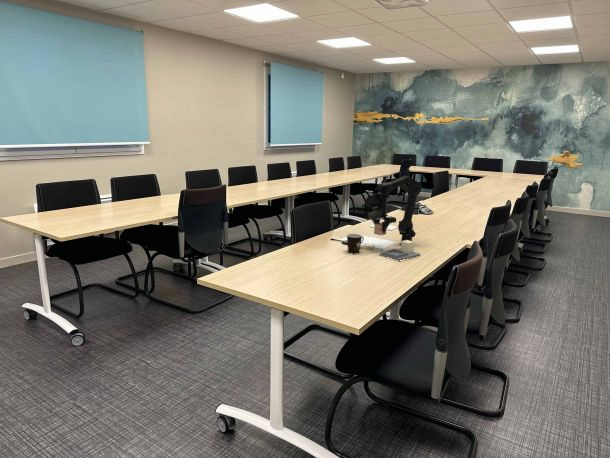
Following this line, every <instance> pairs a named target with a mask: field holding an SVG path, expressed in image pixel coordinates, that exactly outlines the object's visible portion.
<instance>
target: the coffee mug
mask: <svg viewBox="0 0 610 458" xmlns="http://www.w3.org/2000/svg"><path fill="white" fill-rule="evenodd" d="M364 239H365V237H364V236H363V235H362V234H358V233H348V234H347V235H346V240H347V252H349V253H348V254H350V253H353V254H352V255H356V254H355V253H358V254H360V250H361V245H362V244H363V242H364Z"/></svg>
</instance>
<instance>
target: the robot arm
mask: <svg viewBox="0 0 610 458" xmlns="http://www.w3.org/2000/svg"><path fill="white" fill-rule="evenodd" d="M401 186H405V187H406V192H407V200H406V205H405V209H404V214H403V218H402V219H401V220H399V221H398V225H397V227H398V228H397V229H398V232H399V235H401V238H400V239H401V241H400V243H399V244H400V245H399V246H401V242H402V241H405V240H409V241H413V238H414V237H416V231H415V230H414V223H413V214H414V212H415V211H414V210H415V205H416V201H417V197H418V196H419V195H420V194H421V191H422V188H423V185H422V183H421V182H420V181H418V180H415V179H413V178H412V177H410V176H407V175H403V176H401V177H399V178H396V179H394V180H392V181H388V182H380V183H378V184H377V185H376V187H375V189H374V190H373V192H372V193H371V194H367V197H366V198H365V205H366V207H368V208H373V207H374V210H373V211H370V212H367V214H366V218H367V219H369V220H370V221H372V223H373V225H374V224H376V223H382V224H383V233H385V231H386V232H387V229H388V227H389V226H390V224H393V223H397V218H396V217H394V216H389V215H388V214H387V210H389V207H388V199H389V198H391V196H390V195H389V194H390V193H392V192H393V190H394V189H396V188H397V189H398V188H399V187H401ZM381 220H383V221H381Z"/></svg>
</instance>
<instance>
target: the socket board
mask: <svg viewBox="0 0 610 458" xmlns="http://www.w3.org/2000/svg"><path fill="white" fill-rule="evenodd" d="M400 243H401V245H400V246H401V247H400V248H399V247H398V248H395V247H394V248H391V249H386V250H383V251H382V252H380V253H379V256H380V255H382V256H381V257H383V256H385V257H384V258H386V257H389V258H392V259H395V260H398V261H400V260H403V259H407V258H411V257H416V256H420V257H421V253H419V252H415V251H414V250H415V241H413V240H412V241H409V240H405V241H402V242H401V241H400ZM389 258H388V259H389ZM416 258H417V257H416ZM392 259H391V260H392ZM395 260H394V261H395ZM398 261H397V262H398ZM400 262H401V261H400Z"/></svg>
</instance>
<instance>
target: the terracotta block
mask: <svg viewBox="0 0 610 458" xmlns="http://www.w3.org/2000/svg"><path fill="white" fill-rule="evenodd" d="M373 225H374V226H373V235H378V236H384V235H387V230H386V231H385V233H383V224H382V222H380V223H376V224H374V223H373Z"/></svg>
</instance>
